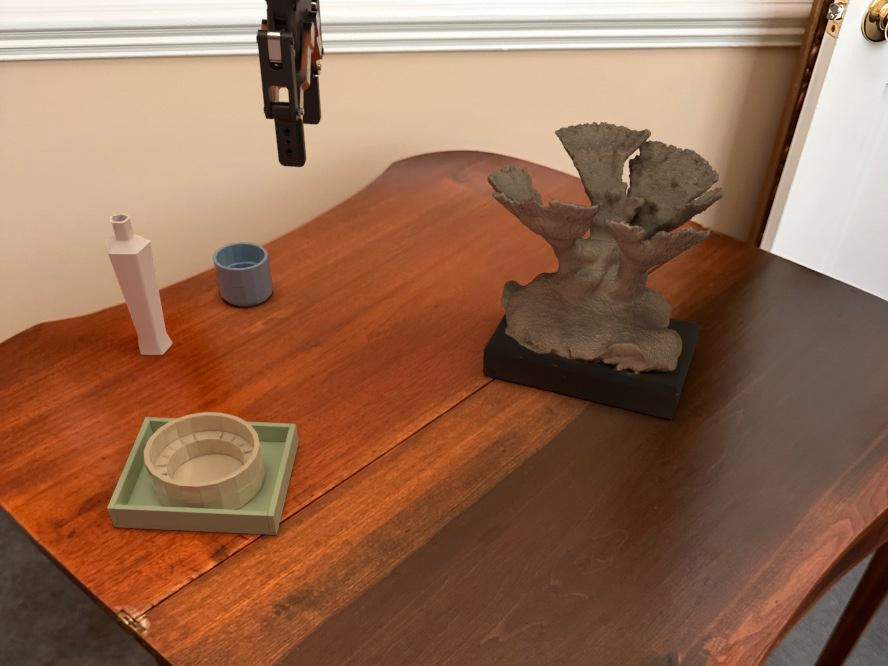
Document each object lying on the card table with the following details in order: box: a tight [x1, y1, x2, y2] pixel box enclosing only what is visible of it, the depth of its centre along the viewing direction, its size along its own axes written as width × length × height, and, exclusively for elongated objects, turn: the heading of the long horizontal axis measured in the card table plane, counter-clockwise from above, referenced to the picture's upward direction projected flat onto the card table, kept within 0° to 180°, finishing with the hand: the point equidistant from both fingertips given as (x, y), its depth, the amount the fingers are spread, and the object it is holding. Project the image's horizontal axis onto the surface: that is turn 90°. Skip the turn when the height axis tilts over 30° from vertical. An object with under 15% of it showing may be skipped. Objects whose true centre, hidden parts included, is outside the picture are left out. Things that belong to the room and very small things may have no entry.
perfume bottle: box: [105, 212, 174, 356], centre depth 93 cm, size 5×4×15 cm
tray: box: [106, 416, 299, 536], centre depth 84 cm, size 15×13×2 cm
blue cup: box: [212, 241, 274, 307], centre depth 105 cm, size 6×6×5 cm
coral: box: [482, 121, 725, 420], centre depth 93 cm, size 25×20×22 cm
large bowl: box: [144, 411, 265, 510], centre depth 83 cm, size 11×11×4 cm
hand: (301, 143), depth 75 cm, fingers open, 8 cm apart
